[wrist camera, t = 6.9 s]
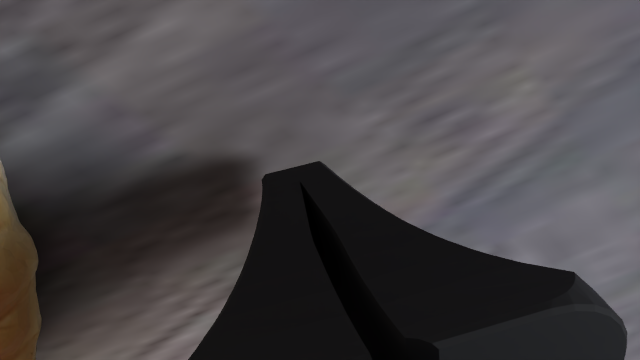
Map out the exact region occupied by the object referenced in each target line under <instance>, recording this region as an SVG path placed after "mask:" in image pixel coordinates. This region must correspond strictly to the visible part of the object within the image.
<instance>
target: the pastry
mask: <svg viewBox="0 0 640 360" xmlns="http://www.w3.org/2000/svg"><path fill="white" fill-rule="evenodd" d="M7 187H8V185H7V178H6V175H5V171H4V167H3V165H2V162H1V159H0V360H36V359H35V355H36V343H37V339H38V336H39V333H40V329H41V322H42V318H41V315H40V310H39V304H38V298H37V293H36V278H35V272H36V270H37V266H38V255H37V250H36V247H35V245H34V242H33V240H32V237H31V236H30V234H29V233H28V232H27V231H26V229H25V228H24V227H23V226H22V225H21V223H20V222H19V219H18V216H17V213H16V211H15V208H14V206H13V204H12V200H11V197H10V194H9V191H8V188H7Z"/></svg>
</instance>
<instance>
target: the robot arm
mask: <svg viewBox="0 0 640 360" xmlns="http://www.w3.org/2000/svg"><path fill="white" fill-rule="evenodd" d="M626 348H627V331H626V328H625V326H624V323H623V321H622V319H621V318H620V317H619V316H618V315H617V314H616V313H615V312H614V311H613V310H612V308H611V307H610V306H609V305H608V304H607V303H606V302H605V301H604V300H603V299H602V298H601V297H600V296H599V295H598V294H597V293H596V292H595V291H594V290H593V289H592V288H591V287H590V286H589V285H588V284H587V283H585V282H584V281H583V280H582V279H581V278H580V277H579V276H578V275H577V274H575V273H574V272H571V271H565V270H560V269H554V268H548V267H543V266H537V265H532V264H526V263H521V262H517V261H513V260H509V259H505V258H501V257H497V256H493V255H489V254H486V253H483V252H480V251H476V250H473V249H470V248H467V247H464V246H461V245H459V244H456V243H453V242H450V241H447V240H445V239H442V238H440V237H437V236H435V235H433V234H430V233H428V232H426V231H424V230H422V229H420V228H418V227H415V226H413V225H411V224H409V223H407V222H405V221H403V220H401V219H400V218H398V217H396V216H395V215H393V214H391V213H390V212H388V211H386V210H385V209H383V208H381V207H380V206H378V205H377V204H375V203H374V202H372V201H371V200H370V199H368V198H367V197H365V196H364V195H362V194H361V193H360V192H358V191H357V190H355V189H354V188H353V187H351V186H350V185H349V184H348V183H346V182H345V181H344V180H342V179H341V178H340V177H339V176H338V175H336V174H335V173H334V172H333V171H332V170H330V169H329V168H328V167H327V166H326V165H325V164H323V163H322V162H320V161H317V162H313V163H309V164H305V165H301V166H297V167H293V168H289V169H285V170H281V171H277V172H273V173H269V174H266V175H265V176H264V177H263V179H262V201H261V208H260V213H259V218H258V222H257V227H256V231H255V234H254V237H253V241H252V244H251V247H250V250H249V253H248V256H247V259H246V261H245V264H244V266H243V269H242V271H241V274H240V276H239V278H238V280H237V282H236V285H235V287H234V289H233V291H232V293H231V294H230V296H229V298H228V300H227V302H226V304H225V306H224V307H223V309H222V311H221V313H220V314H219V316H218V318H217V319H216V321H215V322H214V324H213V325H212V327H211V328H210V330H209V331H208V333H207V334H206V336H205V337H204V338H203V340H202V341H201V343H200V344H199V346H198V347H197V349H196V350H195V351H194V353H193V354H192V355H191V357H190V358H189V359H188V360H624V357H625V353H626Z"/></svg>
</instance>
